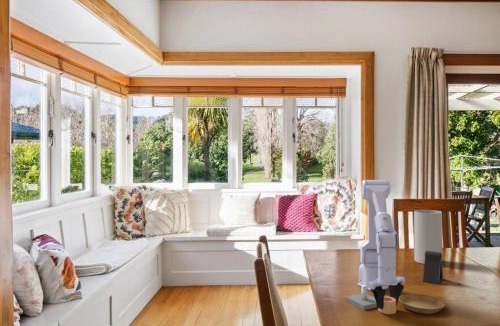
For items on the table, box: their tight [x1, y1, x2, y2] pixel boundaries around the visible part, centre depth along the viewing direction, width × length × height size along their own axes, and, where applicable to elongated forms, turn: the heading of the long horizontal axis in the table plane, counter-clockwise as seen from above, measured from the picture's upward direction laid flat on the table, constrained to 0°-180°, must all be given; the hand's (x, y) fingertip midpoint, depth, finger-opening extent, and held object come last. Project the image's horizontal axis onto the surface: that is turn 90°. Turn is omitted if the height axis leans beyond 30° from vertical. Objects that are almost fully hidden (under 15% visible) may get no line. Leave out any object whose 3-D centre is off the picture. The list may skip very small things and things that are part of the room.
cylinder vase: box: [413, 209, 443, 265], centre depth 200 cm, size 12×12×25 cm
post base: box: [345, 285, 377, 311], centre depth 145 cm, size 10×9×6 cm
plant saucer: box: [398, 293, 446, 315], centre depth 140 cm, size 15×15×3 cm
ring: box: [377, 295, 397, 315], centre depth 137 cm, size 6×6×4 cm
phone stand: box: [422, 251, 445, 285], centre depth 170 cm, size 9×6×12 cm, turn 141°
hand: (387, 306), depth 137 cm, fingers closed on ring, 6 cm apart
